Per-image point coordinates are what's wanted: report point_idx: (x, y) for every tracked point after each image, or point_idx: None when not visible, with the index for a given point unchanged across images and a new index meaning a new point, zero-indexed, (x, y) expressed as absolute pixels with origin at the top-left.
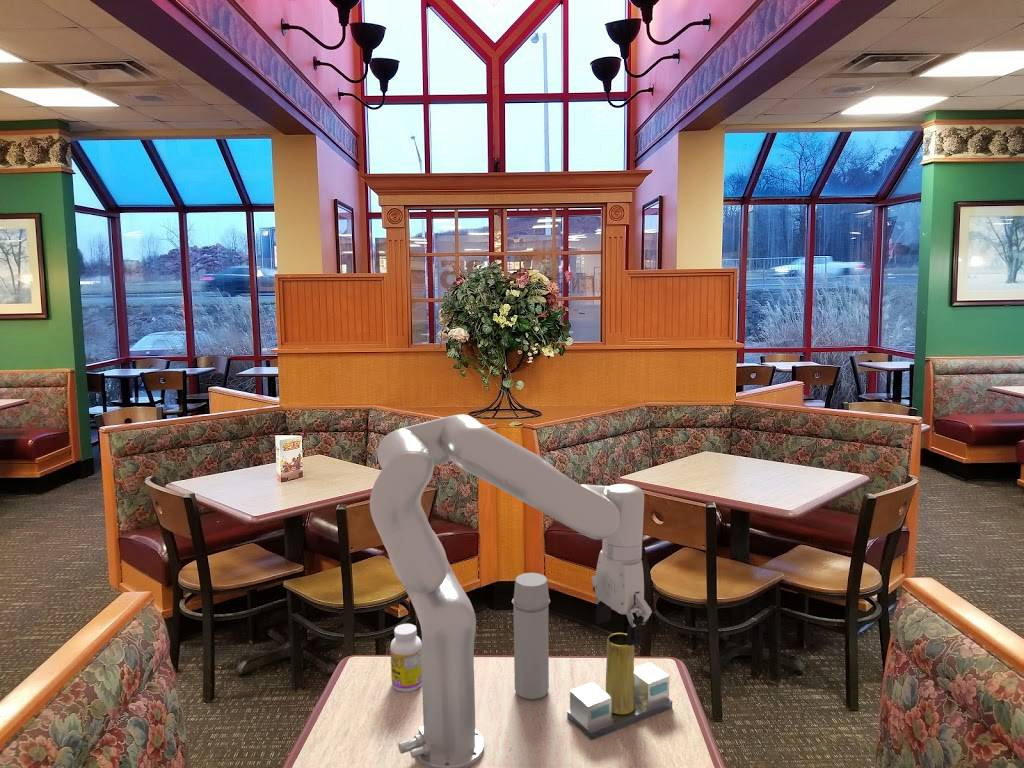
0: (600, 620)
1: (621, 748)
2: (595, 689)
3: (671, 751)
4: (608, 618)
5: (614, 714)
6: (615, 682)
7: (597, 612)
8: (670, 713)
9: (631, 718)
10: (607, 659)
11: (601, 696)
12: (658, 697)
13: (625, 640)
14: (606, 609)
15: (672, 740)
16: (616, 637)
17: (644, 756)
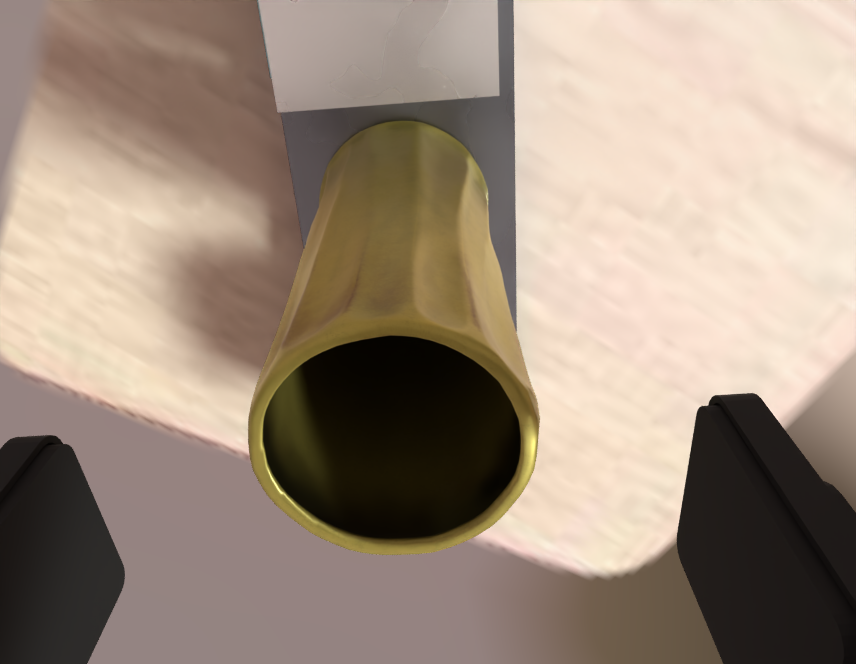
0: (712, 449)
1: (140, 33)
2: (409, 57)
3: (60, 244)
4: (693, 551)
5: (351, 136)
6: (336, 201)
7: (814, 509)
8: None
9: (297, 204)
10: (437, 240)
11: (313, 49)
12: None
13: (455, 486)
14: (758, 655)
15: (132, 292)
16: (513, 445)
17: (52, 108)
